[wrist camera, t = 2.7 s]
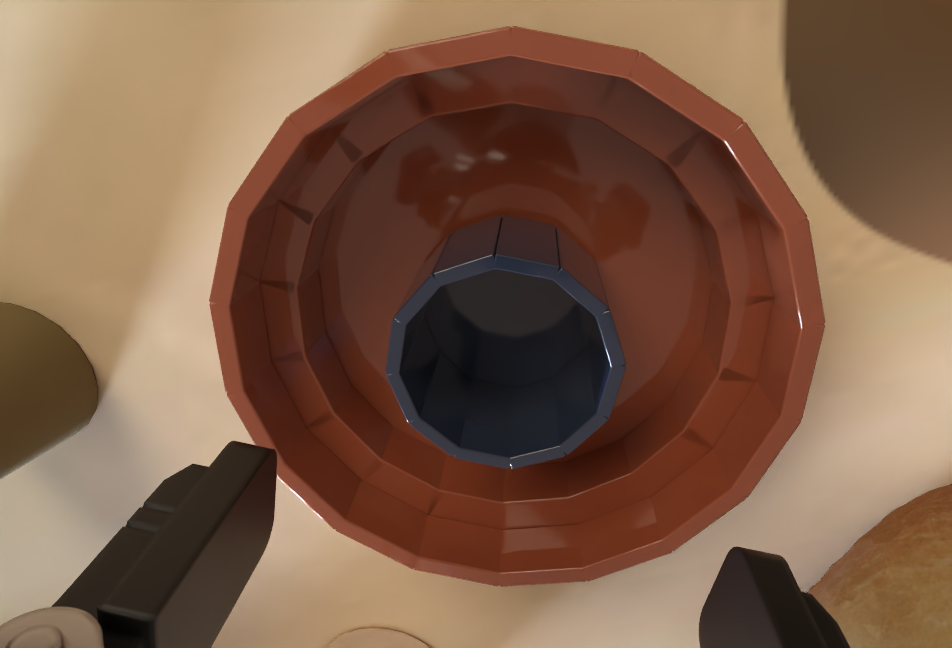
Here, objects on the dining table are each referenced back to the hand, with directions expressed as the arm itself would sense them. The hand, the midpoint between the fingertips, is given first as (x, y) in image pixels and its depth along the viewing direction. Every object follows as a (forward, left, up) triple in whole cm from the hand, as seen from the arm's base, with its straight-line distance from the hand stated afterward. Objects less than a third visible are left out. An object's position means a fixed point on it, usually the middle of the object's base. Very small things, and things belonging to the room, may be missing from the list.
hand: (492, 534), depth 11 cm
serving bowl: (0, 0, -11) cm, 11 cm away
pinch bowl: (0, 0, -11) cm, 11 cm away
